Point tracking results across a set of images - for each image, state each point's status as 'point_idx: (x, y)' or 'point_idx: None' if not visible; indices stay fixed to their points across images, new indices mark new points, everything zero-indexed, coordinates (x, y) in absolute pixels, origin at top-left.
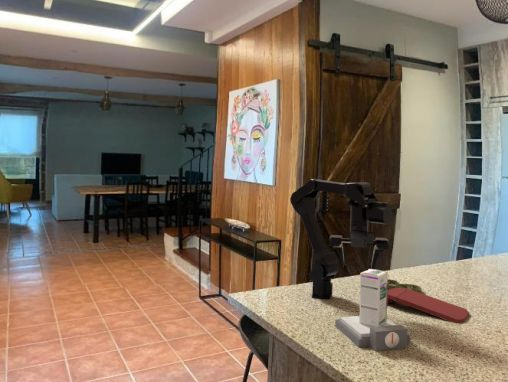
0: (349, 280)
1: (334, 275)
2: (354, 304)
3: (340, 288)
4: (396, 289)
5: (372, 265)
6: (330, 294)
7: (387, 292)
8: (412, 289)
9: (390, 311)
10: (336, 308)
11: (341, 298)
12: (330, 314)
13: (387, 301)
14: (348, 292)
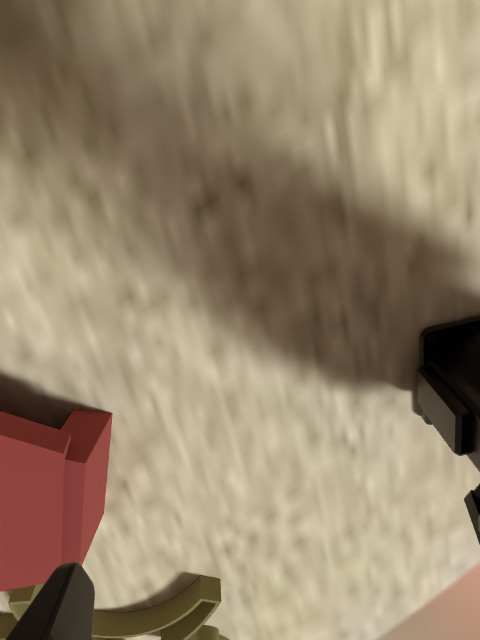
0: (351, 619)
1: (476, 509)
2: (258, 322)
3: (379, 516)
4: (40, 557)
5: (38, 627)
6: (430, 369)
7: (72, 493)
8: None
9: (11, 313)
10: (357, 180)
11: (352, 382)
12: (385, 4)
13: (68, 424)
14: (329, 485)
